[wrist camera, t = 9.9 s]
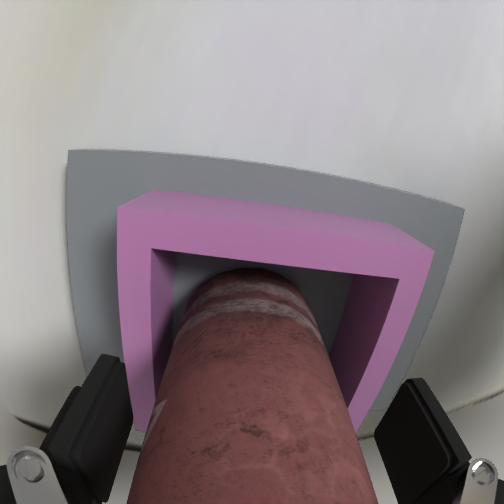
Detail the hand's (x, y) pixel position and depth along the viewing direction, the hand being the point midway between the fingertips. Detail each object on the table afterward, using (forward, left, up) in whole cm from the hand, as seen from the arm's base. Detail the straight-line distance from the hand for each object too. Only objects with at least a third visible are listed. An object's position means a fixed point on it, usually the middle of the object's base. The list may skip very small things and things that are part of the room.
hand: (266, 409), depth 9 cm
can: (0, 0, -6) cm, 6 cm away
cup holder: (0, 0, -8) cm, 8 cm away
